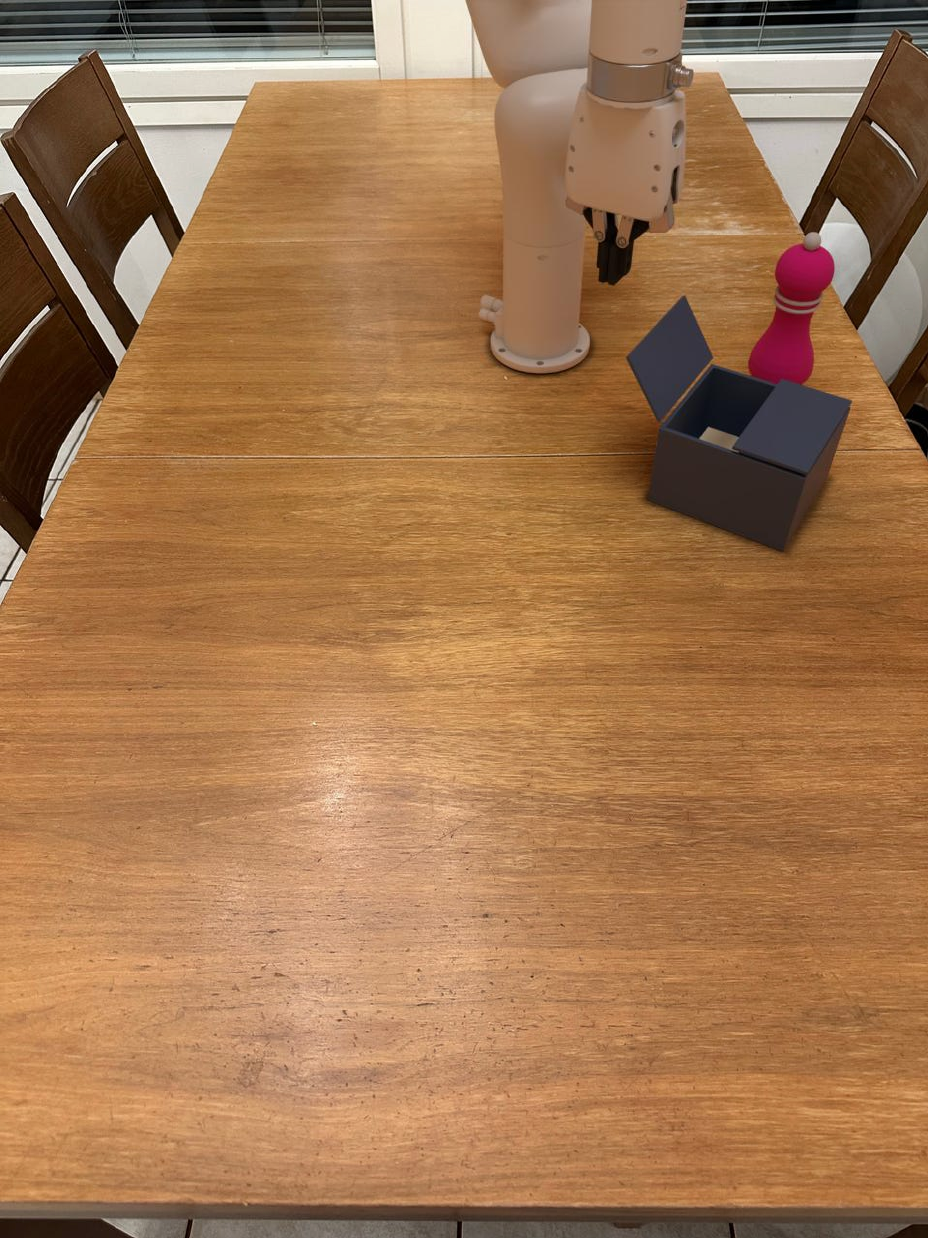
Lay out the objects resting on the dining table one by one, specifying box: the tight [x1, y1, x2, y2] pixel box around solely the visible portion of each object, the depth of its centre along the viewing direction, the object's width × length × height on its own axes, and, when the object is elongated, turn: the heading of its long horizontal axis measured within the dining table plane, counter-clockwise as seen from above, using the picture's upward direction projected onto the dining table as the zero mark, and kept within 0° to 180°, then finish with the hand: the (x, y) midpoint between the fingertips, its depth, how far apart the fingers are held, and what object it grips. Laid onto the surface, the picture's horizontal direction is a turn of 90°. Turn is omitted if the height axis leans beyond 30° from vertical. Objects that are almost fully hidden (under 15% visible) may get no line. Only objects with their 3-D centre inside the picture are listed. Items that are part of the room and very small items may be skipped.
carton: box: [647, 363, 853, 552], centre depth 98 cm, size 15×13×10 cm
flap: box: [625, 295, 714, 423], centre depth 95 cm, size 7×13×1 cm
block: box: [699, 427, 744, 454], centre depth 101 cm, size 4×4×4 cm
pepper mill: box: [747, 231, 836, 385], centre depth 105 cm, size 7×7×20 cm
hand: (612, 277), depth 93 cm, fingers closed
